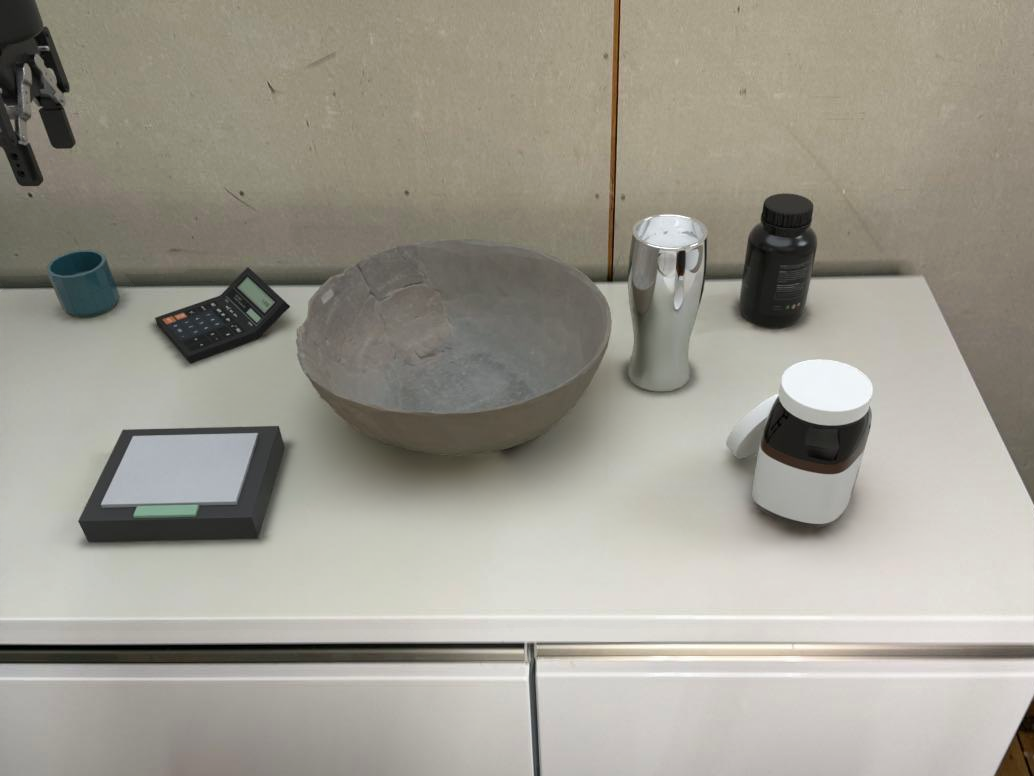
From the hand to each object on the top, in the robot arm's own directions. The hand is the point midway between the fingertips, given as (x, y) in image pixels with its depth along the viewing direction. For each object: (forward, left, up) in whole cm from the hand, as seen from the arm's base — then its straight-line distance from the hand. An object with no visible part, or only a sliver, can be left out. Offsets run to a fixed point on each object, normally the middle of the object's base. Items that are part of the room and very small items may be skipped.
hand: (48, 165), depth 92 cm
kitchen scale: (+16, -29, -17) cm, 37 cm away
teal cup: (-3, +3, -17) cm, 17 cm away
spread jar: (+67, -30, -17) cm, 76 cm away
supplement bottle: (+71, -2, -17) cm, 73 cm away
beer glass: (+58, -13, -17) cm, 62 cm away
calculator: (+13, -2, -17) cm, 22 cm away
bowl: (+39, -17, -17) cm, 46 cm away
